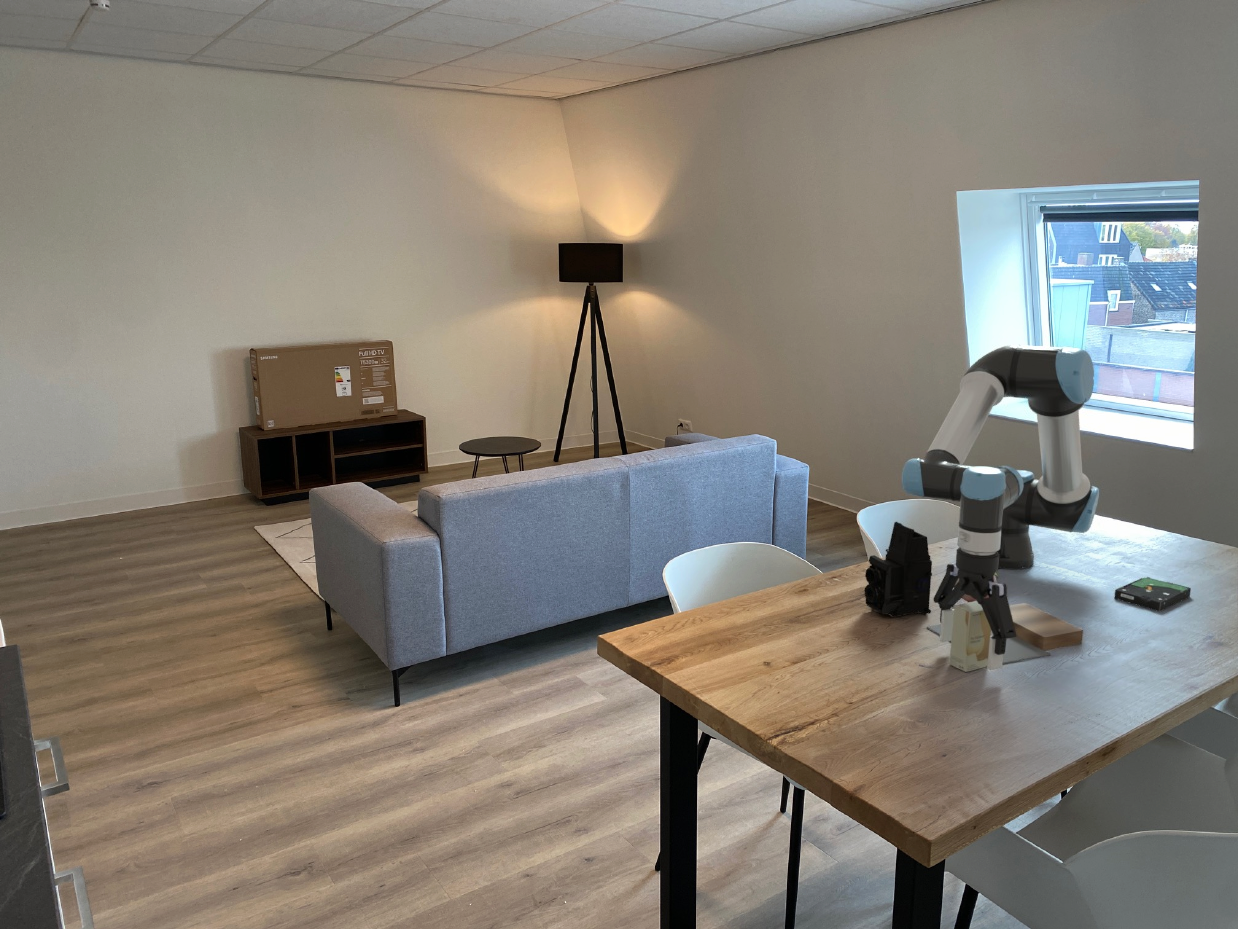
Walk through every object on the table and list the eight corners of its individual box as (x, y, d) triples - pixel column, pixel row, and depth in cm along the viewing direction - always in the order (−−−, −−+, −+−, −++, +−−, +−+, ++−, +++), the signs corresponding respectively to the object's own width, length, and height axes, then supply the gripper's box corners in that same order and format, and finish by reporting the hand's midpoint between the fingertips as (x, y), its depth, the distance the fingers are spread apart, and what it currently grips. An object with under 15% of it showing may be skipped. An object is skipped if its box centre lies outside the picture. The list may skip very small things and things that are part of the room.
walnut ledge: (987, 622, 201) (988, 609, 200) (1024, 615, 204) (1025, 602, 204) (1042, 651, 186) (1044, 637, 186) (1081, 643, 189) (1083, 630, 189)
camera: (855, 608, 210) (859, 522, 205) (907, 600, 214) (912, 516, 209) (881, 624, 200) (886, 535, 196) (934, 616, 205) (940, 528, 200)
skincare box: (965, 673, 177) (970, 613, 174) (948, 664, 181) (952, 605, 178) (989, 666, 180) (994, 606, 177) (971, 657, 184) (976, 599, 181)
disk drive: (1160, 614, 206) (1190, 598, 214) (1162, 602, 205) (1191, 587, 214) (1113, 601, 214) (1143, 586, 222) (1114, 589, 213) (1144, 575, 222)
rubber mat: (926, 628, 198) (927, 626, 198) (980, 618, 203) (980, 617, 203) (992, 666, 180) (993, 664, 180) (1050, 655, 184) (1050, 653, 184)
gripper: (919, 533, 185) (913, 632, 190) (1009, 572, 162) (999, 684, 167) (950, 529, 188) (943, 627, 193) (1043, 567, 165) (1033, 678, 170)
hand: (969, 654), depth 180 cm, fingers open, 13 cm apart
